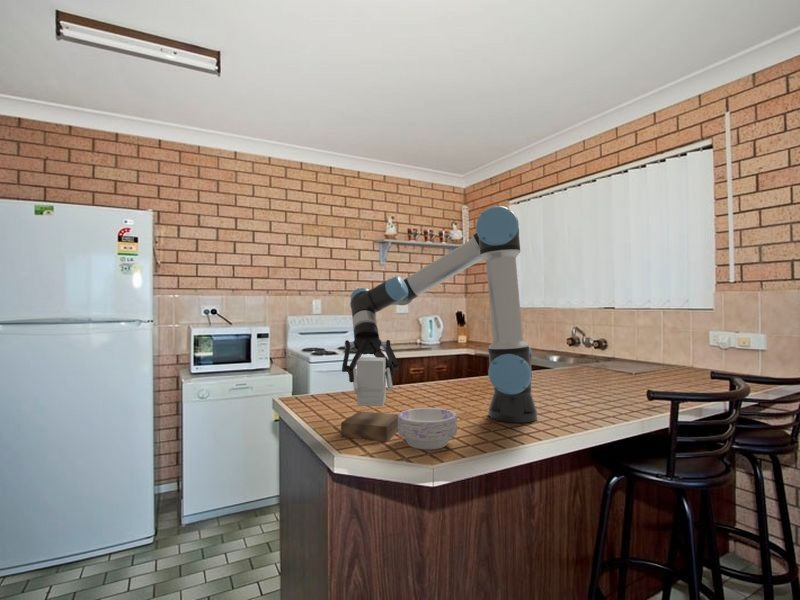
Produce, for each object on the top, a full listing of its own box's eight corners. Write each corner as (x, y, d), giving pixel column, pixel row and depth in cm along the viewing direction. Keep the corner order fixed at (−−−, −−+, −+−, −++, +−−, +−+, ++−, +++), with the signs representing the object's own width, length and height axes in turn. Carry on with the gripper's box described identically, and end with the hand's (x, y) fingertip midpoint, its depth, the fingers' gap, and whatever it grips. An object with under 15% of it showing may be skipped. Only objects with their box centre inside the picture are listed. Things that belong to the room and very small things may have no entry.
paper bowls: (391, 438, 115) (391, 408, 115) (443, 433, 119) (443, 405, 119) (407, 457, 100) (407, 423, 101) (466, 451, 105) (466, 419, 105)
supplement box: (386, 400, 123) (386, 357, 123) (382, 407, 116) (383, 360, 116) (361, 400, 124) (361, 356, 124) (355, 406, 117) (356, 359, 117)
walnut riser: (401, 428, 124) (401, 414, 124) (386, 442, 111) (386, 426, 112) (359, 424, 128) (359, 411, 128) (341, 437, 115) (341, 422, 115)
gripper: (397, 336, 137) (409, 396, 122) (329, 337, 133) (332, 399, 117) (401, 320, 132) (414, 381, 117) (331, 320, 127) (334, 383, 112)
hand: (373, 390), depth 117 cm, fingers closed on supplement box, 9 cm apart
